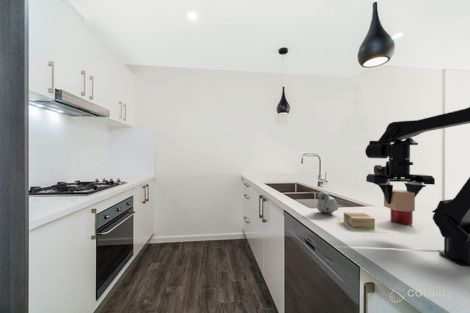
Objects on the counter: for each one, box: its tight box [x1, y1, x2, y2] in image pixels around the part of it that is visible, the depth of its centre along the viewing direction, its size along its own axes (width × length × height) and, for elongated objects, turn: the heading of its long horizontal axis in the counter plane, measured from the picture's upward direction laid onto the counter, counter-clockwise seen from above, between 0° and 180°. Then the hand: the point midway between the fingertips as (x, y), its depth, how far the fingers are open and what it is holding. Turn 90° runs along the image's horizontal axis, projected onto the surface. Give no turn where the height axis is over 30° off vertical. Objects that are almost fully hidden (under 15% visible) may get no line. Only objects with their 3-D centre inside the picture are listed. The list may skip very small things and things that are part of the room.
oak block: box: [343, 211, 376, 229], centre depth 83 cm, size 8×8×4 cm
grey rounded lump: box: [316, 190, 339, 215], centre depth 98 cm, size 10×10×12 cm
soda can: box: [389, 209, 414, 227], centre depth 87 cm, size 7×7×12 cm
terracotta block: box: [383, 189, 416, 212], centre depth 71 cm, size 6×6×6 cm
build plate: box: [336, 217, 388, 233], centre depth 84 cm, size 16×12×1 cm
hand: (398, 204), depth 71 cm, fingers closed on terracotta block, 6 cm apart
